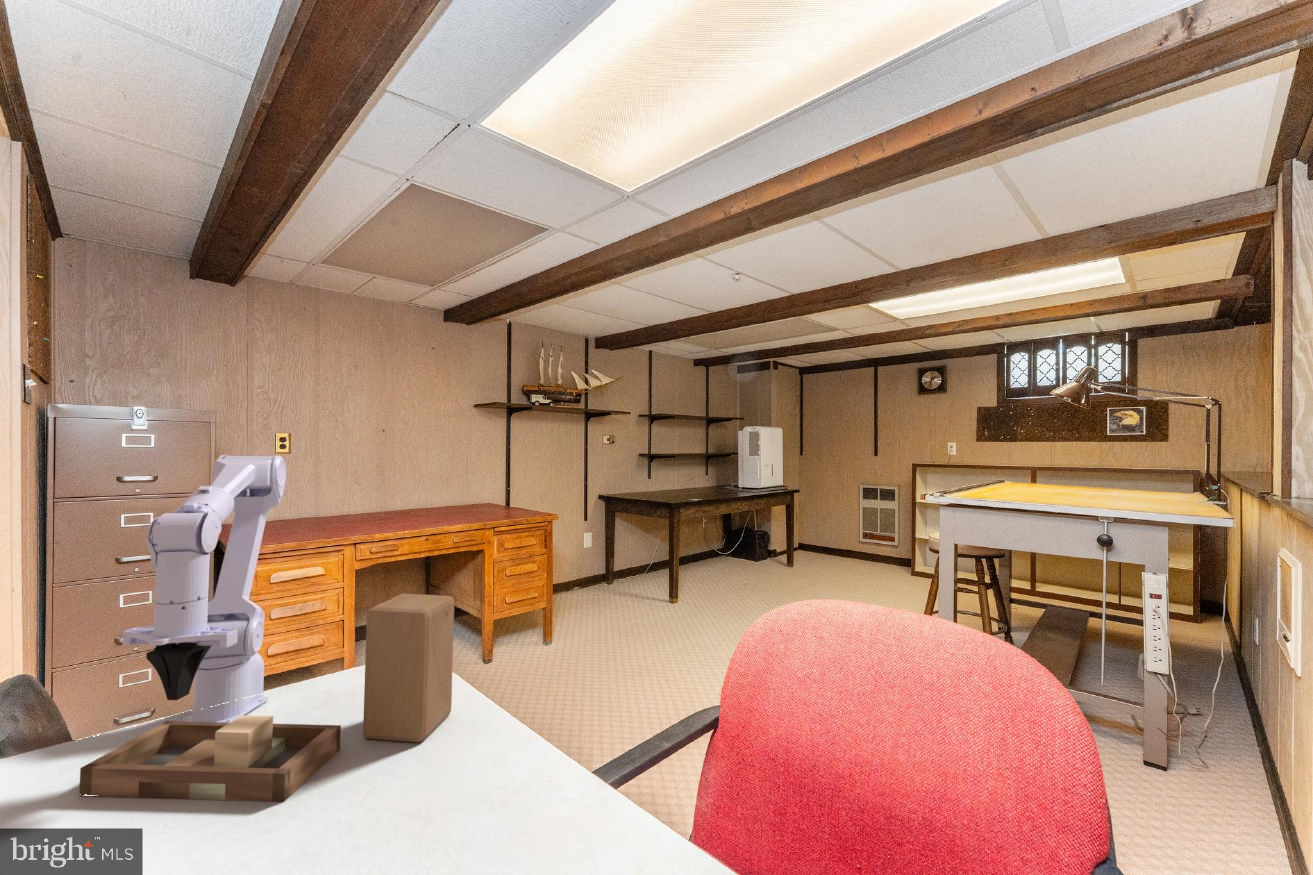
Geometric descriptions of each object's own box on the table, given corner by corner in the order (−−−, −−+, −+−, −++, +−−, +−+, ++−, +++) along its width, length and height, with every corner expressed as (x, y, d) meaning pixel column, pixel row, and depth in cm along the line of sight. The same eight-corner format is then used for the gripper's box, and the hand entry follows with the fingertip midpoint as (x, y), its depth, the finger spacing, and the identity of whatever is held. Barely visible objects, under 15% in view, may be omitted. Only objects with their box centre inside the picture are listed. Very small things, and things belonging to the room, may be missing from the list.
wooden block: (453, 713, 92) (456, 594, 93) (422, 745, 82) (426, 611, 83) (397, 709, 93) (400, 591, 94) (359, 740, 83) (363, 608, 84)
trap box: (165, 744, 81) (166, 720, 81) (340, 749, 81) (340, 725, 81) (79, 796, 69) (80, 768, 69) (283, 801, 69) (284, 773, 69)
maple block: (240, 747, 77) (241, 715, 77) (271, 748, 77) (273, 716, 77) (214, 766, 73) (215, 731, 73) (247, 766, 72) (248, 732, 73)
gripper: (101, 605, 72) (97, 709, 72) (209, 608, 72) (206, 711, 72) (151, 591, 79) (147, 686, 79) (250, 594, 79) (246, 688, 79)
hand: (178, 696), depth 76 cm, fingers closed
